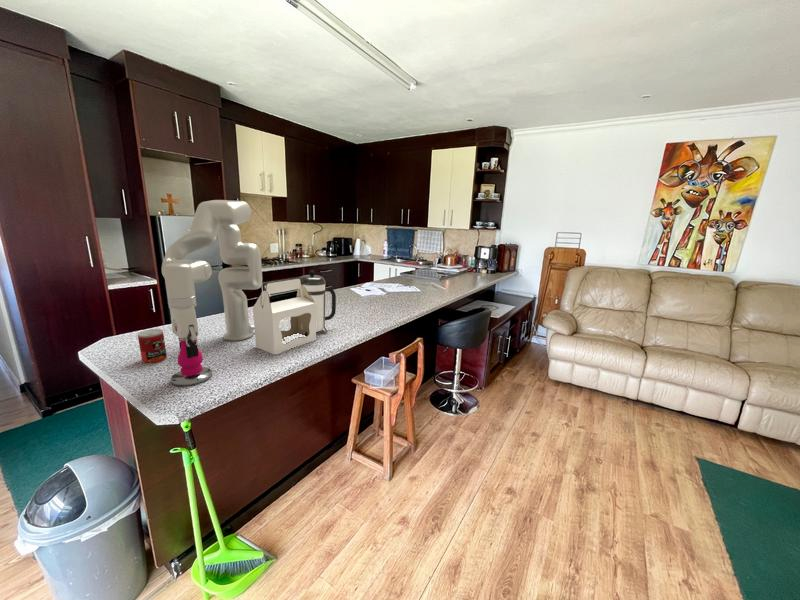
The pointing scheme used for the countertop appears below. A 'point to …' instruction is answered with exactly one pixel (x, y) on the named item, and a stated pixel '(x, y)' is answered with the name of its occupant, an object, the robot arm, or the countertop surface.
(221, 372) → the countertop surface
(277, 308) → the gable box
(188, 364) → the pepper mill
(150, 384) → the countertop surface
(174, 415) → the countertop surface
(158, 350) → the canned food
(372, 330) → the countertop surface
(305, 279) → the coffee press
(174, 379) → the grey metal disc
